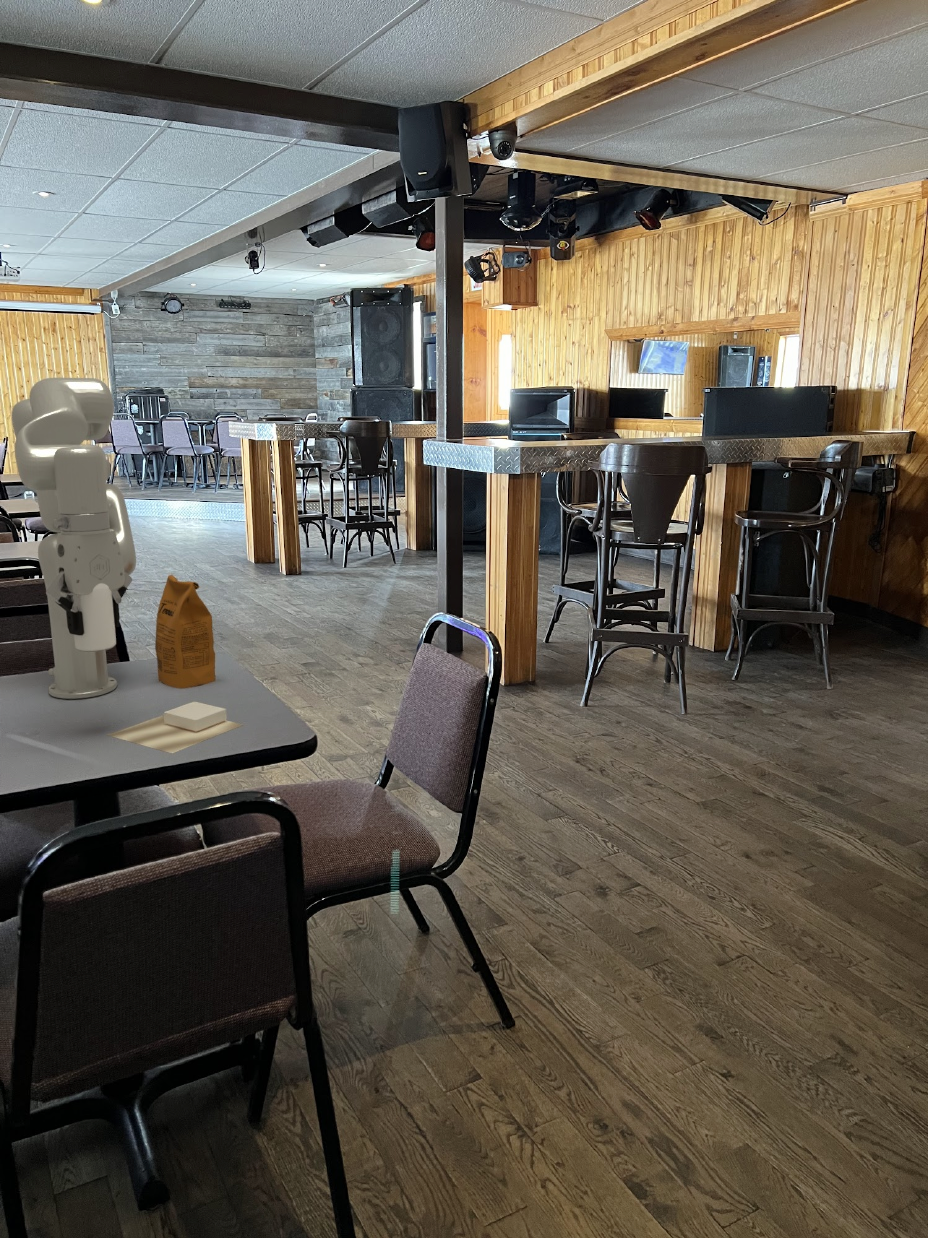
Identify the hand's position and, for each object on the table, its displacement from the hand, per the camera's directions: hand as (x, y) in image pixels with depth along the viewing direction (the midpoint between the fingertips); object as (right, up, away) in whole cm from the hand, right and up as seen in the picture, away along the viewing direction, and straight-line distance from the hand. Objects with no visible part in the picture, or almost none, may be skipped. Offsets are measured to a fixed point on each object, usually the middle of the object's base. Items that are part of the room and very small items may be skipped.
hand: (94, 629), depth 155 cm
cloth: (+12, -18, +4) cm, 23 cm away
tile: (+11, -15, +9) cm, 21 cm away
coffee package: (+5, -12, +34) cm, 36 cm away
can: (0, -3, +1) cm, 3 cm away
